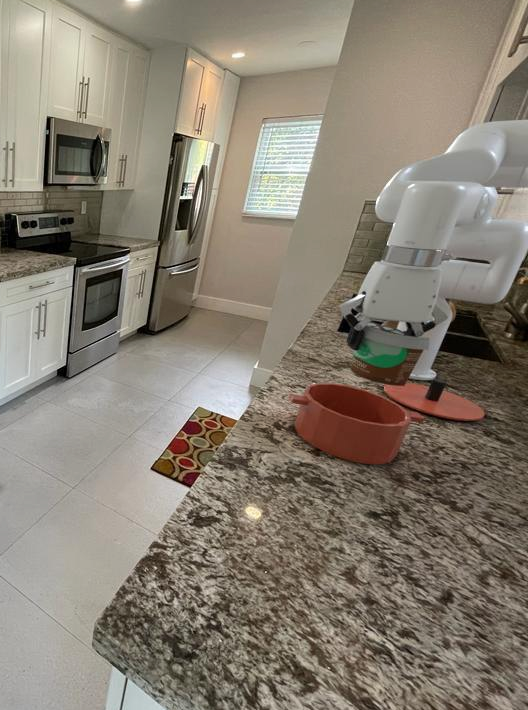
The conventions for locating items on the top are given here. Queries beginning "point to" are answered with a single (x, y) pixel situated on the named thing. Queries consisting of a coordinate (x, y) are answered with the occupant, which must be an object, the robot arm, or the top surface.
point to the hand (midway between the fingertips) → (376, 350)
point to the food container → (387, 355)
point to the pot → (352, 422)
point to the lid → (435, 400)
